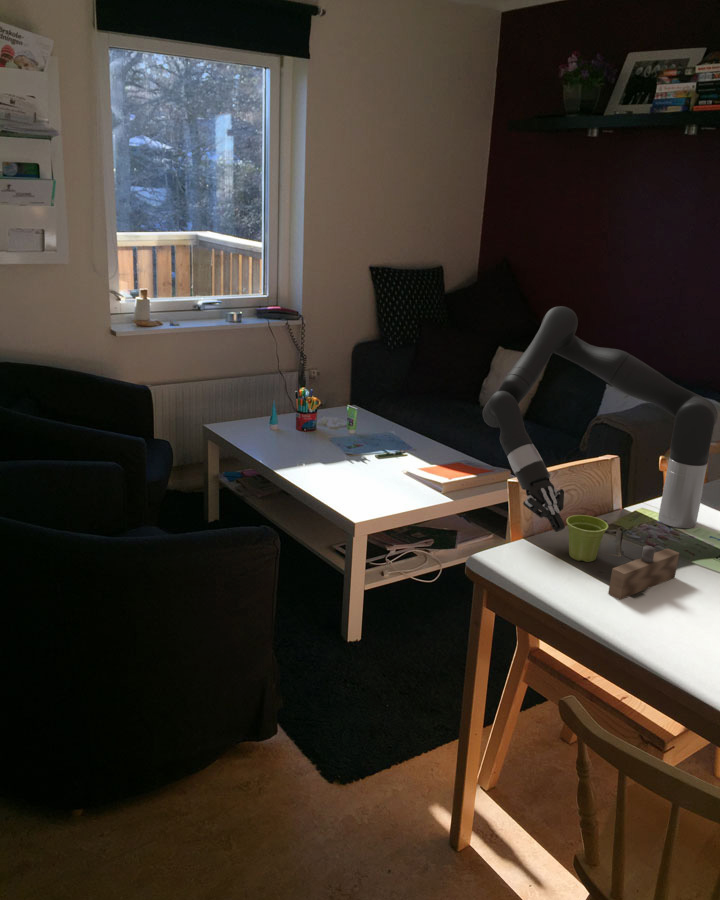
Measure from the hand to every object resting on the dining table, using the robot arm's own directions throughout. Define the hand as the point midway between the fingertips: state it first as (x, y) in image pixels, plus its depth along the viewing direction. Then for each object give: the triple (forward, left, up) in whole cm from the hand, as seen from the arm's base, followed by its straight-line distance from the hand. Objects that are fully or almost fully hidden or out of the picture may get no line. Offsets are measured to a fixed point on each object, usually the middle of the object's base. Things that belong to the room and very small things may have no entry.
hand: (560, 530), depth 192 cm
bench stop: (0, +24, -4) cm, 24 cm away
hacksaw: (-15, +6, -5) cm, 17 cm away
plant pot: (0, +7, -4) cm, 8 cm away
